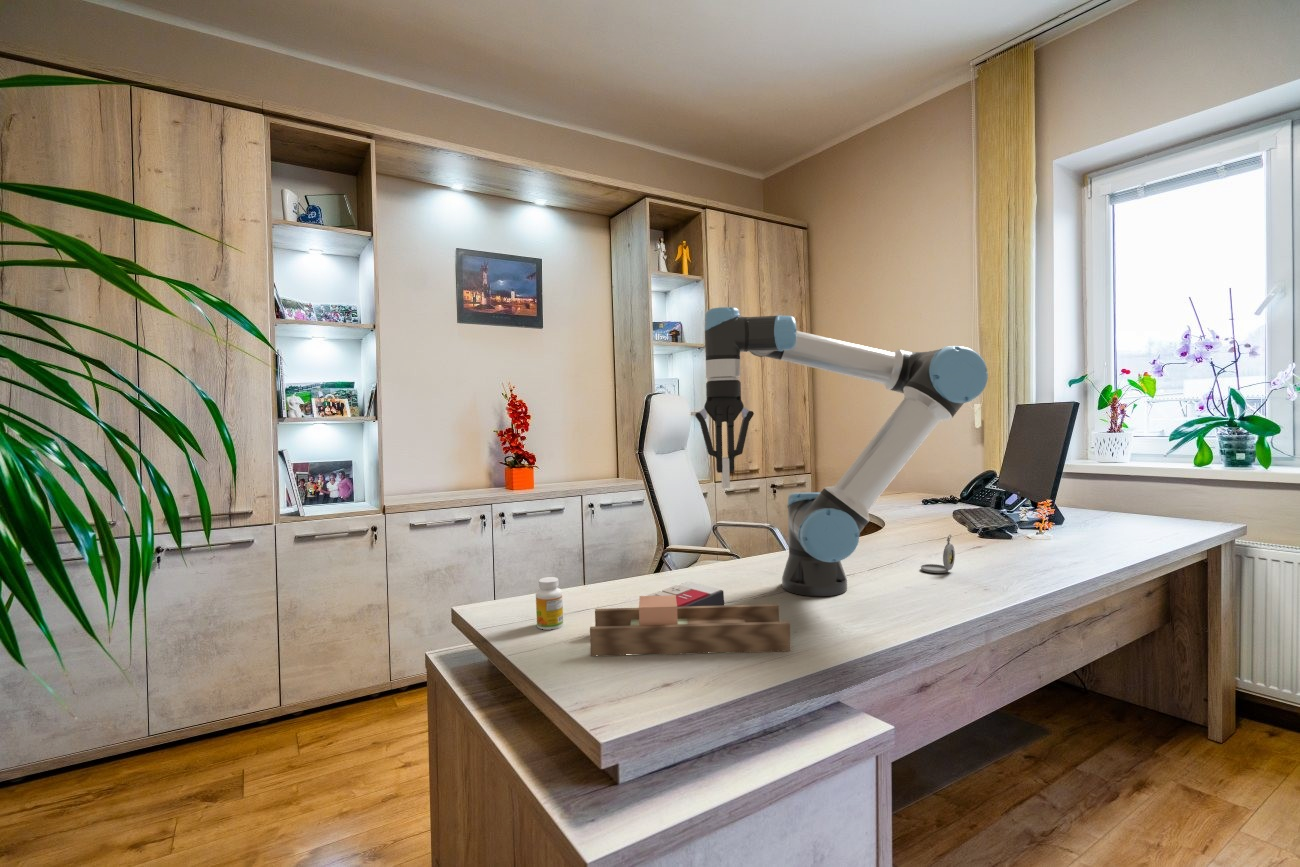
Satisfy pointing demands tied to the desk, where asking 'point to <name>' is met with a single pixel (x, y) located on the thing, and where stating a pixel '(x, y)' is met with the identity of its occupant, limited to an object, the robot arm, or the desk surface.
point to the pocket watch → (947, 560)
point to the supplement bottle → (549, 604)
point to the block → (658, 610)
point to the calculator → (694, 594)
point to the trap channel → (691, 631)
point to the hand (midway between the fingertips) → (725, 487)
